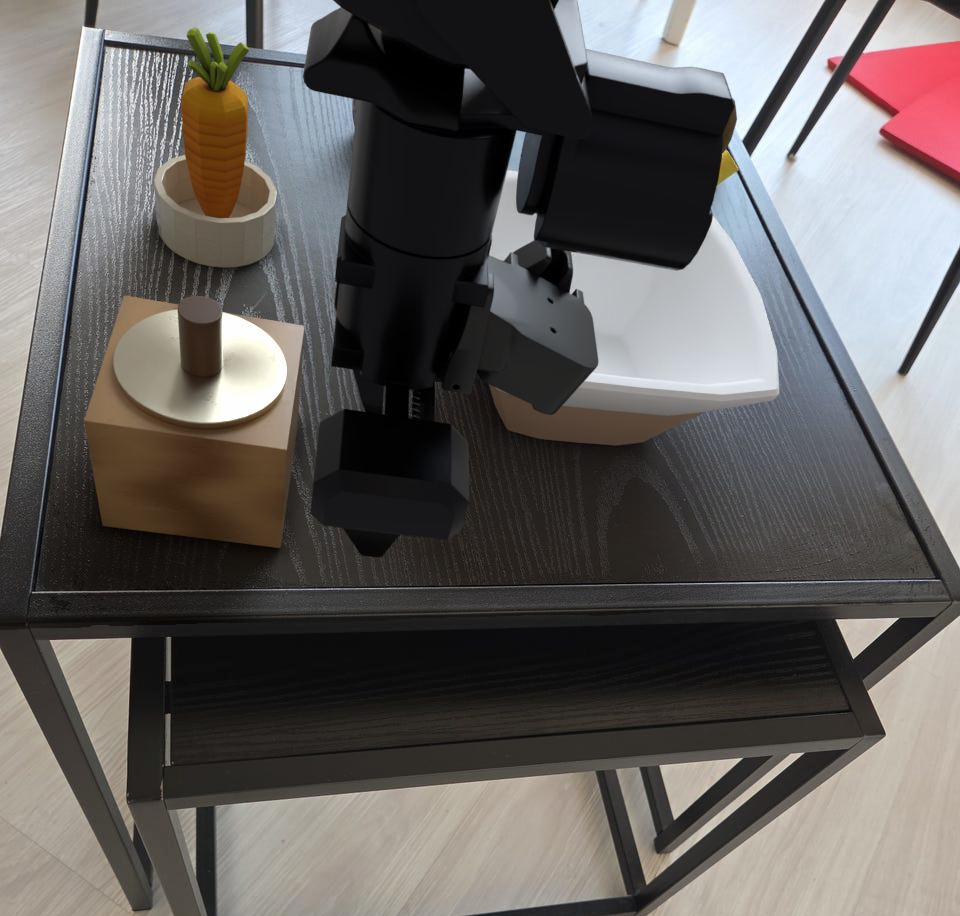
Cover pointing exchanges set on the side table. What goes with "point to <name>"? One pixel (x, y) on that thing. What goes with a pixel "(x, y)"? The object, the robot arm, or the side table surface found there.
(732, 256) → the bowl
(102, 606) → the side table surface
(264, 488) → the stand
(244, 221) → the pot
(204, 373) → the lid
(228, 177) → the carrot
